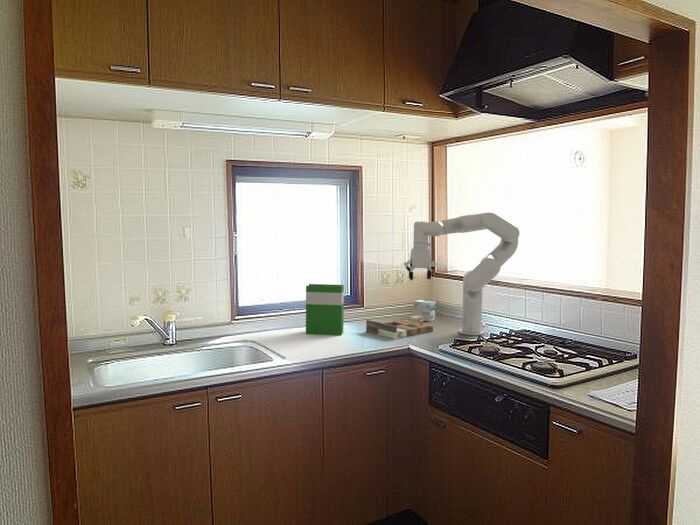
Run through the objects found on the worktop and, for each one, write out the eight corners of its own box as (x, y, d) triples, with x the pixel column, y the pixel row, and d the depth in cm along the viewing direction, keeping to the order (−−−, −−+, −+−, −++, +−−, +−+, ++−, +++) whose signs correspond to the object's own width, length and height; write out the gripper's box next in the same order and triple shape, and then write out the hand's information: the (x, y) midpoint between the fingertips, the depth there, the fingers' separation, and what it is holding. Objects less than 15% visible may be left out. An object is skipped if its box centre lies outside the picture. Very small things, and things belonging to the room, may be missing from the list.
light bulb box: (435, 319, 297) (435, 301, 296) (430, 321, 291) (430, 302, 290) (418, 317, 302) (418, 299, 302) (413, 319, 297) (413, 300, 296)
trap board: (404, 324, 281) (404, 313, 281) (432, 331, 266) (433, 319, 266) (366, 331, 263) (366, 320, 262) (394, 339, 248) (395, 326, 248)
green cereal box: (305, 334, 257) (306, 285, 255) (308, 330, 264) (309, 284, 262) (341, 335, 255) (341, 286, 253) (343, 332, 262) (343, 284, 260)
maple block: (415, 323, 272) (415, 315, 271) (423, 324, 268) (423, 316, 268) (409, 324, 268) (409, 316, 268) (416, 325, 265) (416, 318, 264)
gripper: (433, 245, 270) (432, 278, 272) (402, 245, 266) (401, 278, 267) (439, 246, 263) (438, 279, 265) (407, 246, 259) (406, 280, 260)
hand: (420, 279), depth 266 cm, fingers open, 9 cm apart
